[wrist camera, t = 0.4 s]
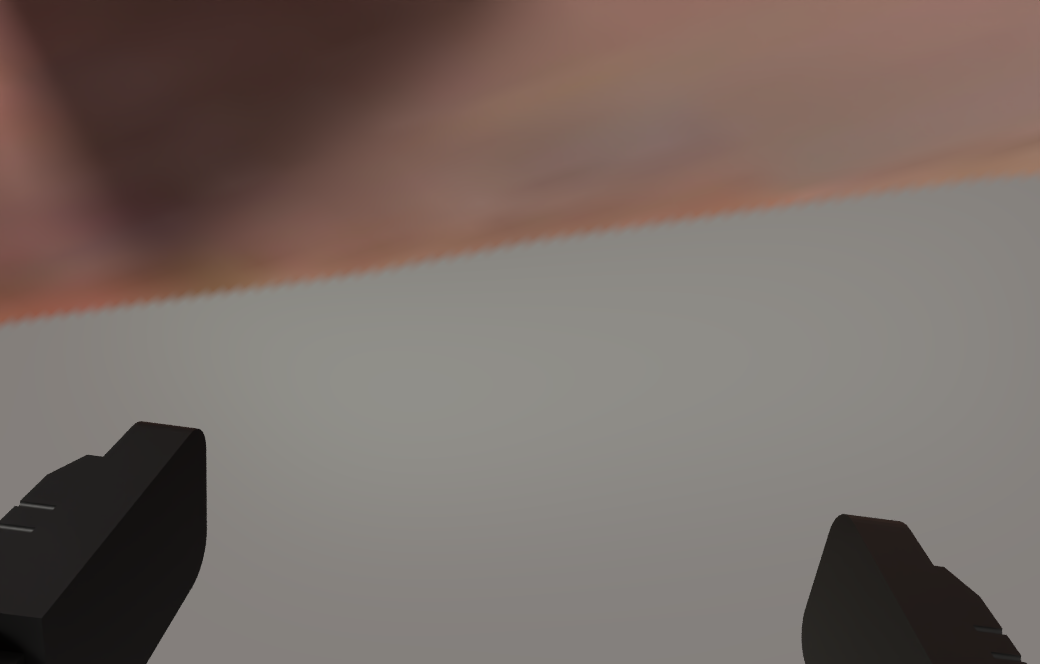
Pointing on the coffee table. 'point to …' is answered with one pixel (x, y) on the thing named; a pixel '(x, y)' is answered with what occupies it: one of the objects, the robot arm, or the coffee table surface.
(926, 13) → the coffee table surface
